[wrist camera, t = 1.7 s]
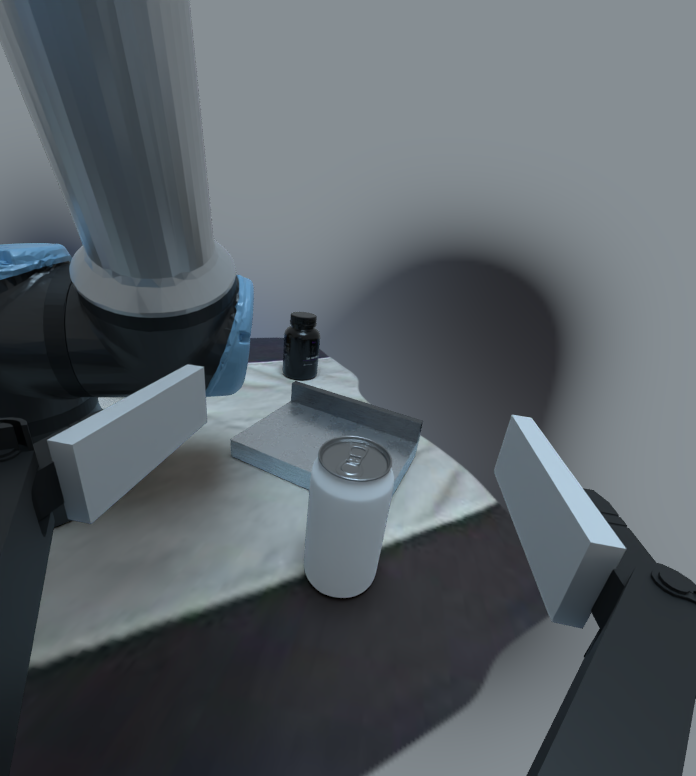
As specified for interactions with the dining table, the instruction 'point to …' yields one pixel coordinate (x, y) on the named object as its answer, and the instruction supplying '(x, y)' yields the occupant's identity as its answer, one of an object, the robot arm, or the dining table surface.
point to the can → (347, 515)
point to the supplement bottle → (301, 347)
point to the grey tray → (323, 434)
